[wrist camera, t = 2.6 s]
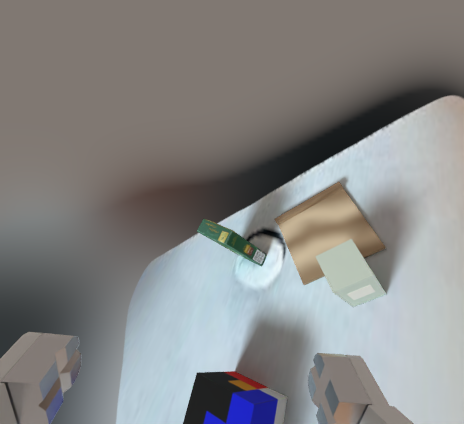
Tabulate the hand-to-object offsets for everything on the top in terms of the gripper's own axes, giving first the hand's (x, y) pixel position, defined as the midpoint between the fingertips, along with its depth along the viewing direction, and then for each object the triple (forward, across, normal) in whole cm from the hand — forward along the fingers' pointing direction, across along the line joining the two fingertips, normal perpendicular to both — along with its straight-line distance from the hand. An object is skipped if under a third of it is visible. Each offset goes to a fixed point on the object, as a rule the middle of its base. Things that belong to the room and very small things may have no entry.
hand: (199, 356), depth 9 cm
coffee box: (+39, +8, -19) cm, 44 cm away
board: (+34, +20, -10) cm, 41 cm away
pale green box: (+25, +23, -14) cm, 37 cm away
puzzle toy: (+18, +9, -36) cm, 41 cm away
